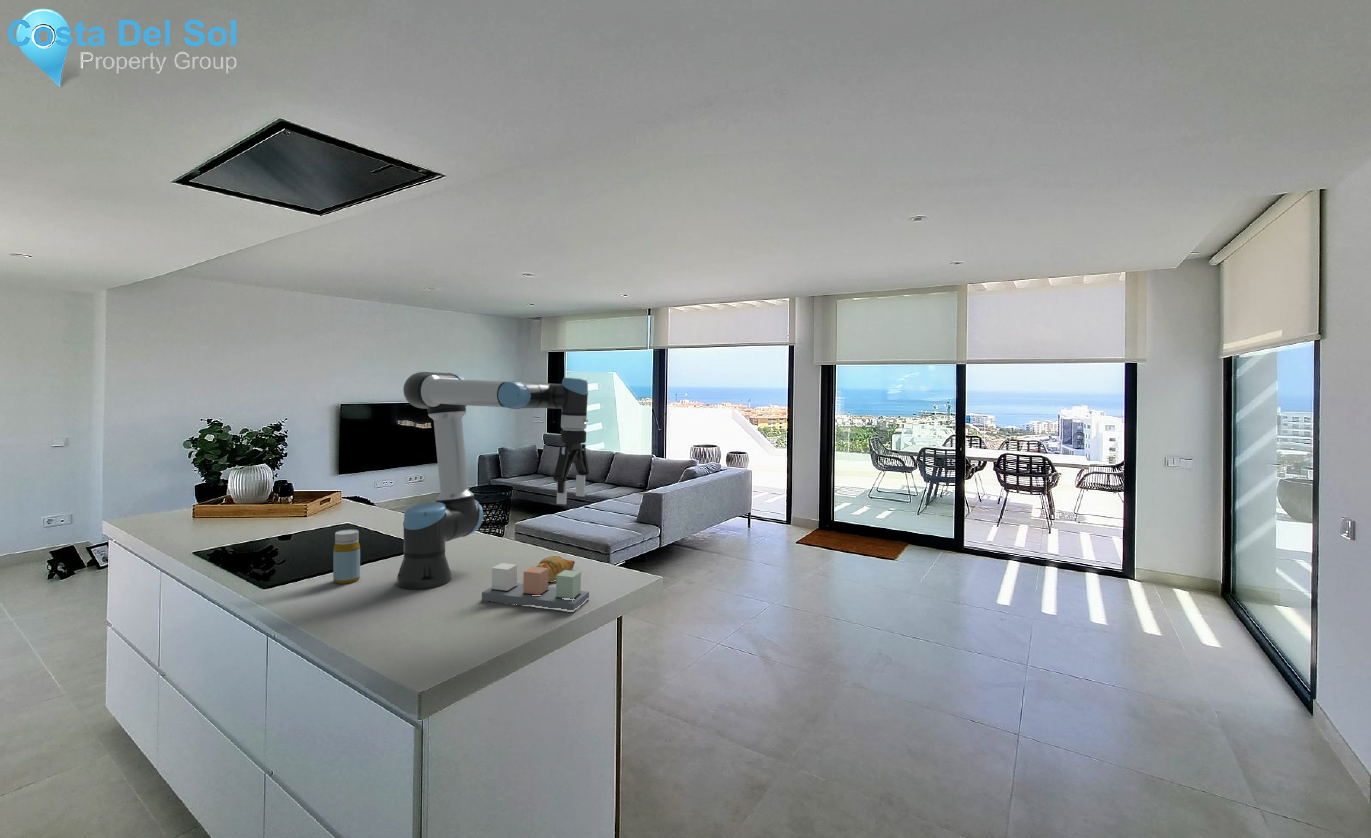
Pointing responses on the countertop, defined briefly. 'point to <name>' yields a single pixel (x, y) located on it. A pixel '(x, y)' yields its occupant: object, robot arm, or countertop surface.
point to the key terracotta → (535, 580)
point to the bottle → (346, 557)
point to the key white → (504, 576)
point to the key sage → (568, 584)
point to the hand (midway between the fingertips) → (571, 499)
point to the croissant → (556, 566)
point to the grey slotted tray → (533, 598)
